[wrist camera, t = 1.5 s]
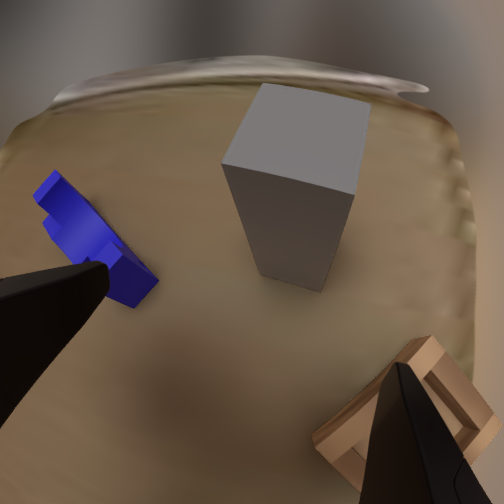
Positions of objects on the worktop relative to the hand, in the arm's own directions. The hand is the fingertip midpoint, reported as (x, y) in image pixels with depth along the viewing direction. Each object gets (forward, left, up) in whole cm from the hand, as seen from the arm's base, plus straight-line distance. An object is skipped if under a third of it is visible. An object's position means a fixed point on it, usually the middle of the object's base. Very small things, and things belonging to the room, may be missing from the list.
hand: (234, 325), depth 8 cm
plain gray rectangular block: (+6, +4, -13) cm, 15 cm away
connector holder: (+3, -11, -13) cm, 17 cm away
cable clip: (-6, +15, -13) cm, 21 cm away
